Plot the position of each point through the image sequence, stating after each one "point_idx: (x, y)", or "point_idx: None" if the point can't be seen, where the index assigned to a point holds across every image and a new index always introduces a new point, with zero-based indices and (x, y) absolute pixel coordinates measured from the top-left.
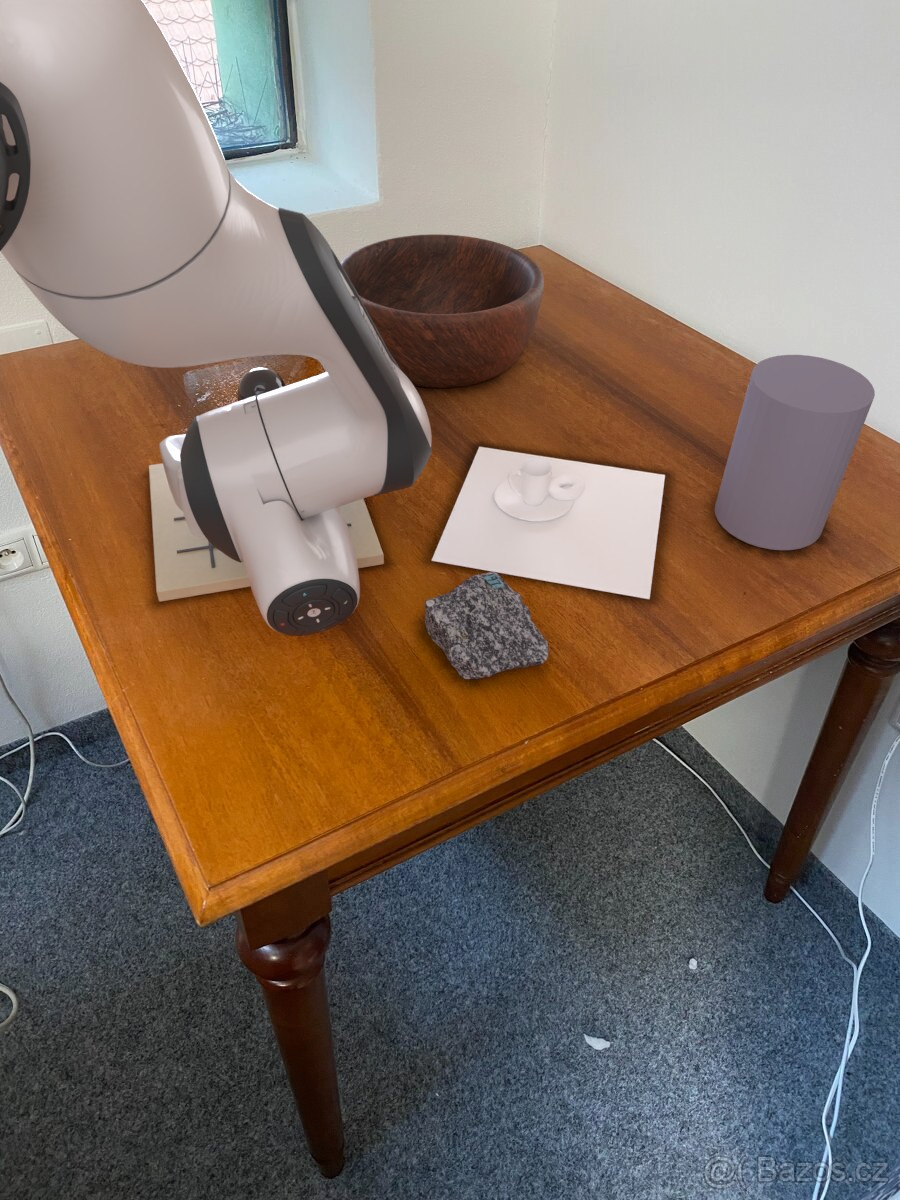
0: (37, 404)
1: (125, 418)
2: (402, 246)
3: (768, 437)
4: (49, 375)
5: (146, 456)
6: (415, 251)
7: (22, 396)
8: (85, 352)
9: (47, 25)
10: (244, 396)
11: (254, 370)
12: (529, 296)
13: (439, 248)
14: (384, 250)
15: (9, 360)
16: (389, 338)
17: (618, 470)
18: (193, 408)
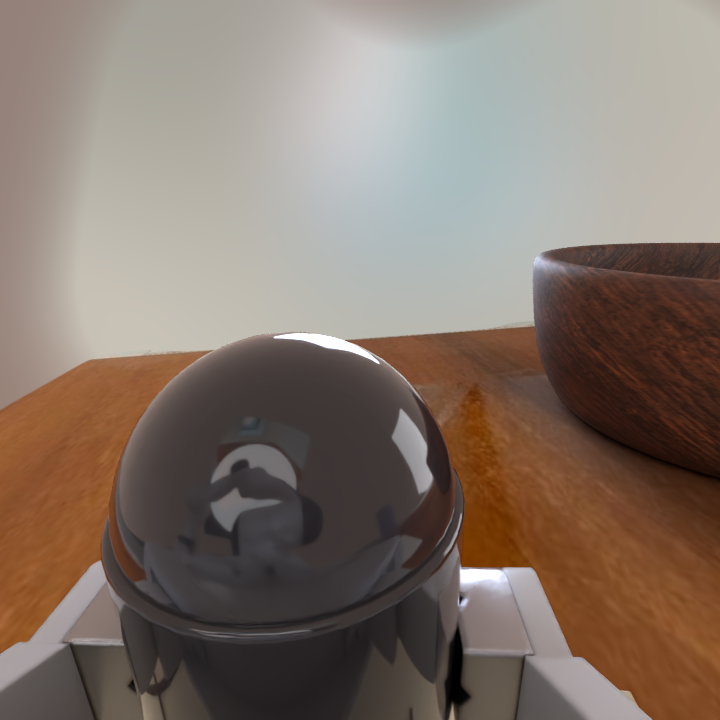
0: (17, 423)
1: (101, 468)
2: (625, 255)
3: None
4: (92, 386)
5: (17, 594)
6: (645, 264)
7: (19, 408)
8: (167, 365)
9: None
10: (112, 525)
11: (248, 338)
12: None
13: (686, 261)
14: (599, 256)
15: (77, 366)
16: (711, 358)
17: None
18: None
